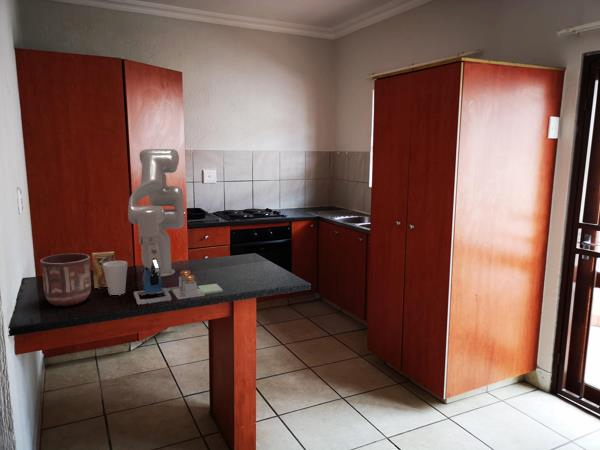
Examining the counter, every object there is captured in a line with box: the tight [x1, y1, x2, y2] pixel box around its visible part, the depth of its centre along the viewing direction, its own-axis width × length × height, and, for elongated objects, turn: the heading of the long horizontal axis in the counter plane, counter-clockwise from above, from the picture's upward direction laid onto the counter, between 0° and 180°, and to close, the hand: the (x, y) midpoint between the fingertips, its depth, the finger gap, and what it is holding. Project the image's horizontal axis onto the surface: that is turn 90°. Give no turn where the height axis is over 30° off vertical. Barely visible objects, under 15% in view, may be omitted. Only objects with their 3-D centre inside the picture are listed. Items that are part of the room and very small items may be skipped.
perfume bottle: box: [142, 267, 163, 294], centre depth 188 cm, size 6×6×12 cm
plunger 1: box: [179, 269, 191, 279], centre depth 197 cm, size 4×4×7 cm
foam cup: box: [103, 260, 128, 296], centre depth 193 cm, size 10×9×13 cm
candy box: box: [91, 251, 116, 289], centre depth 202 cm, size 9×4×15 cm, turn 110°
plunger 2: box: [184, 274, 195, 284], centre depth 190 cm, size 4×4×7 cm
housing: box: [133, 275, 206, 306], centre depth 191 cm, size 26×14×6 cm, turn 116°
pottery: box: [39, 252, 92, 307], centre depth 182 cm, size 18×18×18 cm
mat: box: [197, 283, 224, 295], centre depth 199 cm, size 10×10×1 cm
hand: (151, 282), depth 188 cm, fingers closed on perfume bottle, 6 cm apart
